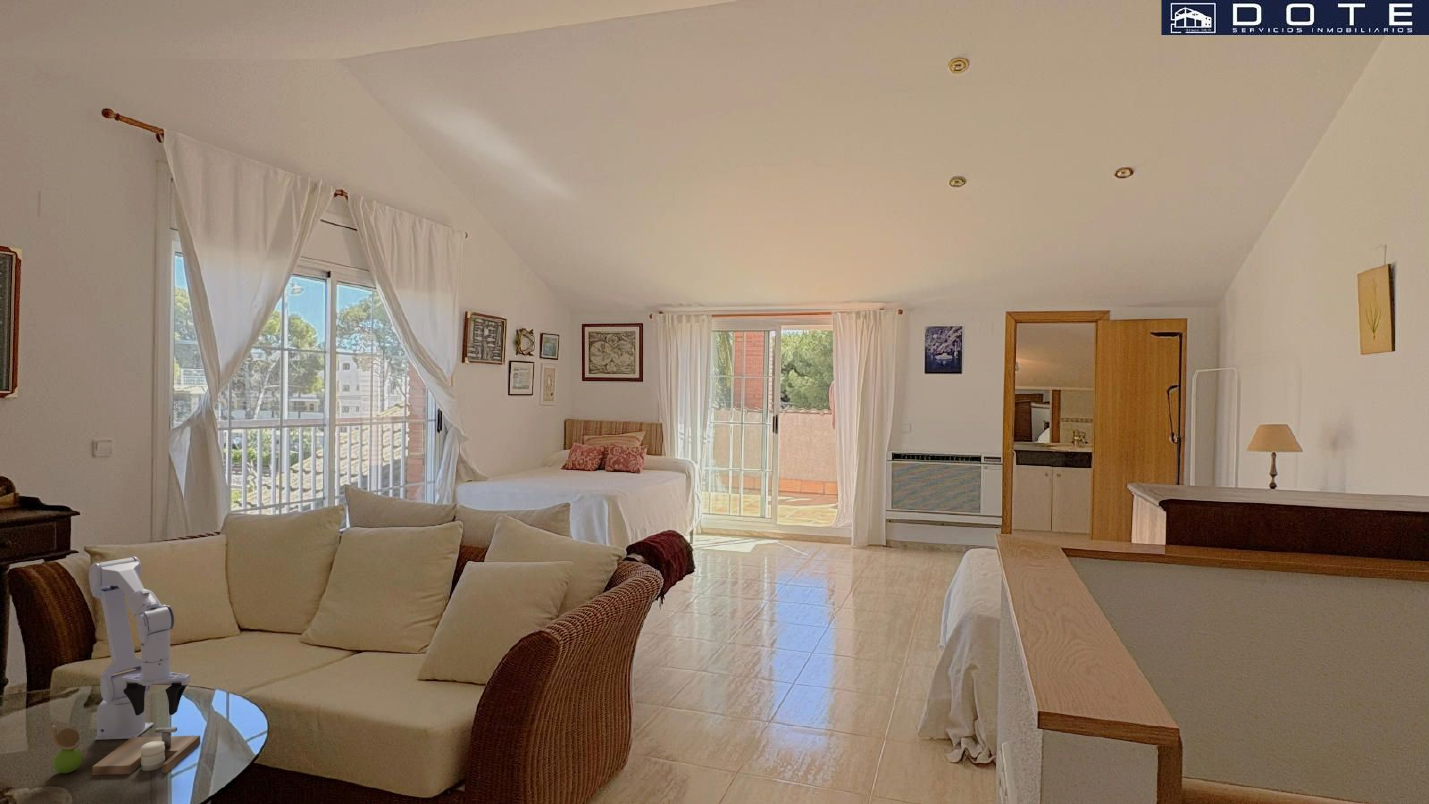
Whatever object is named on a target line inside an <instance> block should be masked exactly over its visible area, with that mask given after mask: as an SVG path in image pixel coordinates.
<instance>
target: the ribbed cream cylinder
mask: <svg viewBox="0 0 1429 804" xmlns="http://www.w3.org/2000/svg"><path fill="white" fill-rule="evenodd" d="M164 751H165V746H164V742H163V741H152V742H149V743H146V744H144V745H143V746H142V747H141V765H140V766H141V770H142V771H144V772H146V771H147V772H149V771H150V772H151V771H154V770H155V771H156V770H158V769H160V768H162V764H163V763H165V762H166V759H165V754H164Z"/></svg>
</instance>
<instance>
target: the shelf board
mask: <svg viewBox="0 0 1429 804" xmlns="http://www.w3.org/2000/svg"><path fill="white" fill-rule="evenodd" d="M152 741H162V736H138V737H131V738H130V739H127V740H126V741H125V742H123V743H121V744H120V745H119V746H117V748H115V749H114V750H112V751H111V752H110V753H109V754H106V756H105V757H103V758H102V759H100V760H99V761H97V762H96V763H95V764H93V766H92V776H101V775H103V776H104V775H106V776H107V775H130V774H132V773H133V772H134V771H135V770H137V769H138V768H139V767H140V766H141V747H142V746H143V745H144V744H146V743H149V742H152ZM200 744H201V735H171V748H169V749H166V750H165V751H164V754H165V763H163V764H162V767H161V771H162V774H167V773H168V772H170V771H171V770H172V769H173V768H174V767H175V766H176V765H178V764H179V763H180V762H181V761H182V760H183V759H185V758H186V757H187V756H188V755H189V754H190V753H191V752H192V751H193V750H195V749H196V748H197V747H199V745H200Z"/></svg>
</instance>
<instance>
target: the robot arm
mask: <svg viewBox="0 0 1429 804" xmlns="http://www.w3.org/2000/svg"><path fill="white" fill-rule="evenodd" d="M141 562H142V561H141V560H140V559H139V558H138V557H137V556H135V555H133V556H131V557H126V558H125V557H124V558H121V559H113V560H108V561H103V562H101V561H100V562H93V563H92V564H91V565H90V567H89V569H88V582H89V587H90V592H91V595H92V597H93V598H97V599H100V600H99V601H100V603H101V606H102V610H103V611H102V612H103V616H104V621H105V628H106V634H107V641H108V646H109V653H110V658H111V663H110V664H108V665H107V666H106V668H105V669H103V670H102V671H101V673H100V678H99V679H100V685H99V686H100V687H99V689H100V695H101V698H102V701H101V702H100V704H99V705H98V708H97V710H96V731H97V732H96V734H97V735H96V737H95V738H94V740H98V741H99V740H126V739H127V740H128V739H130V738H131V737H140V735H141V734H144V732H145V731H147V730H148V729H150V728H151V727H152V726H154V722H146V696H148V692H150V691H151V690H152V688H153V686H154V685H170V686H169V687H167V688H166V689H165V693H166V696H167V699H168V701H167V702H168V714H169V716H173V715H174V714H176V713H177V712H178V709H179V706H180V702H181V700H182V699H181V698H182V696H183V693H184V691H185V690H186V688H187V687H188V684H190V683H191V674H187V673H179V672H175V671H174V672H173V671H171V630H173V629H174V628H175V614H174V611H173V609H172V607H171V605H168V604H167V605H166V604H162V603H161V601H160V600H159V599H158V597H157V596H156V594H155V593H154V592H153V590H150V589H146V588H145V587H144V584H143V583H142V581H141V577H142V573H143V568H142V563H141ZM126 597H127V598H128V599H127V601H126ZM127 608H128V609H129V611H130V612H131V613H132V615H133V617H134V618H135V626H136V630H137V635H138V637H137V638H138V639H137V640H138V642H140V657H138V656H136V652H135V648H134V643H133V642H134V641H133V637H132V636H133V635H132V629H131V624H130V619H129V613H128V609H127ZM129 670H130V671H129ZM125 671H126V672H125ZM122 672H123V673H122Z"/></svg>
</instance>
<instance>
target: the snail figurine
mask: <svg viewBox="0 0 1429 804" xmlns="http://www.w3.org/2000/svg"><path fill="white" fill-rule="evenodd" d="M53 723H55V722H54V720H51V721H49V722H48V725H50V726H49V728H48V729H49V730H48V731H49V733H50V736H51V740H52V742H53V744H54V746H55V747H56V748H58V749H59V750H60V751H59V752H57V754H55V756H54V758H53V759H52V768H53V769H54V771H55V772H56V773H59V774H70V773H72V772H74V771H76V770H77V769H78V768H79V767H80V766H81V765H82V763H83V759H84V755H83V752H82V750H80V749H79V748H78V747H79V746H80V744H79V743H78V742H79V739H80V734H79V731H78V730H77V729H76V728H73V727H65V728H62V729H61V730H60V731H59V732H57V731H58V727H57V726H56V725H52V724H53Z"/></svg>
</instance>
